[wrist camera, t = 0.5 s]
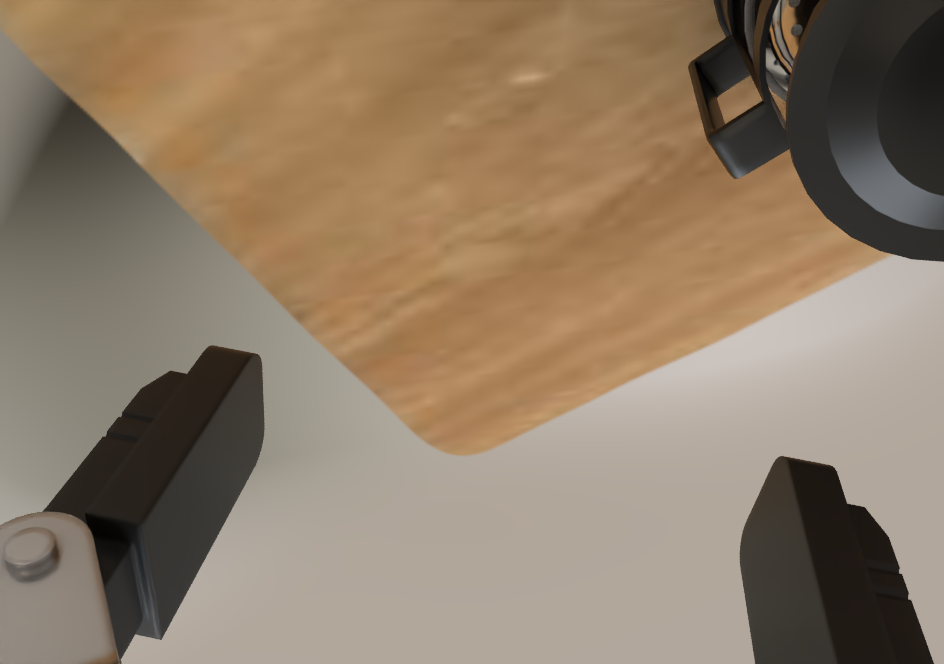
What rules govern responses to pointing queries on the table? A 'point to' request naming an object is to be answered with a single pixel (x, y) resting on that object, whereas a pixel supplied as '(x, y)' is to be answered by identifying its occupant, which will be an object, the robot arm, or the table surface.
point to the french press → (839, 109)
